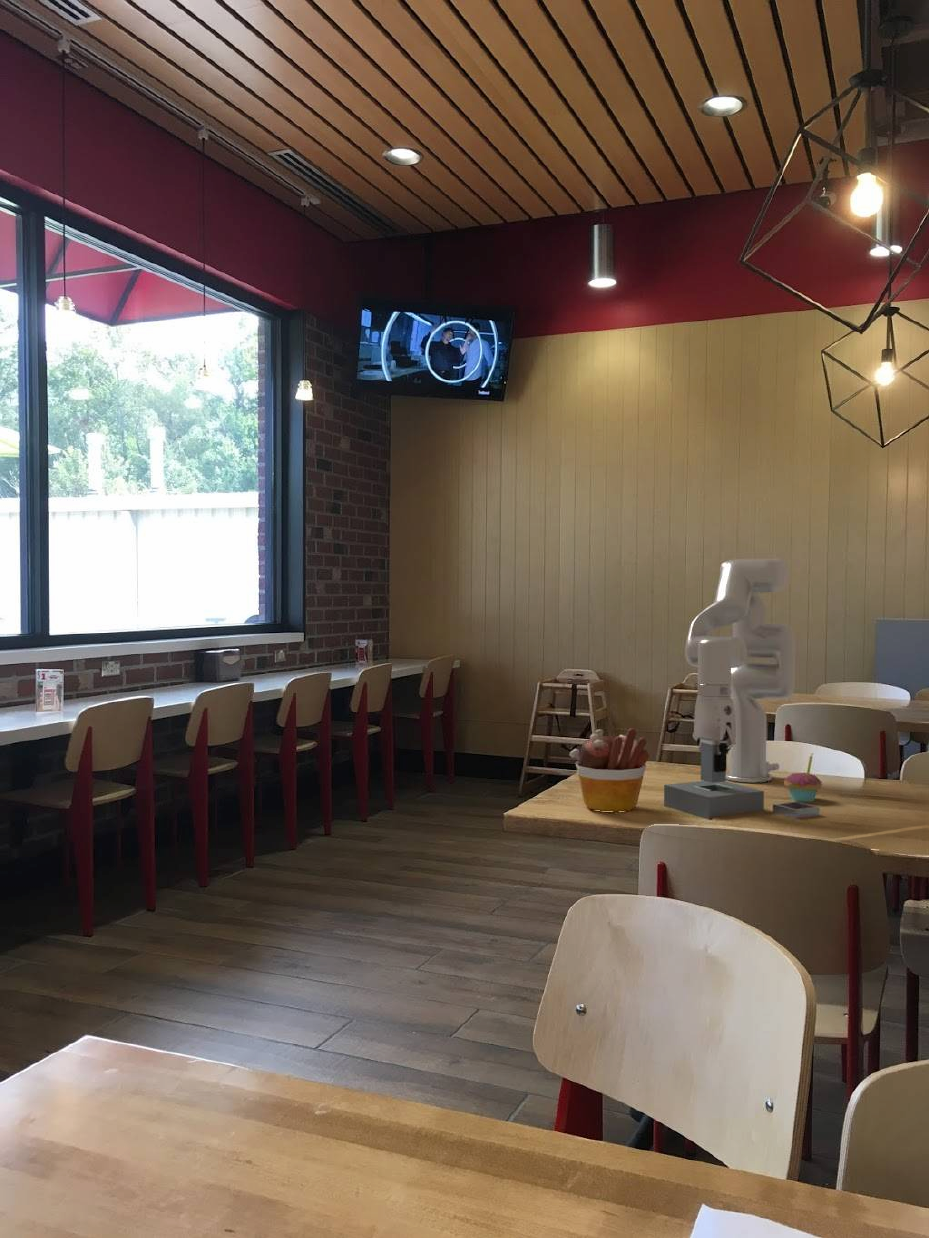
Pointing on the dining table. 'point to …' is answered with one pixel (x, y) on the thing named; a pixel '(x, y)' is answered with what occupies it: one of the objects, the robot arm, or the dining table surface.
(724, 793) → the port block
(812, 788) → the cupcake
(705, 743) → the plug
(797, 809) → the box
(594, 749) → the bucket of meat
